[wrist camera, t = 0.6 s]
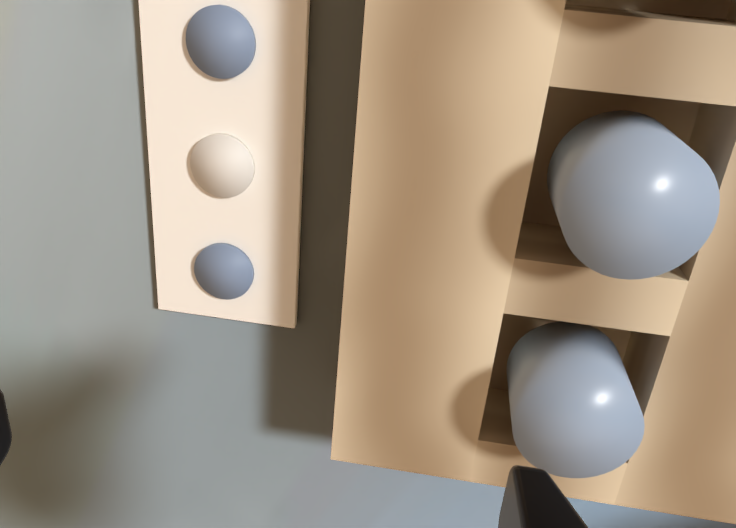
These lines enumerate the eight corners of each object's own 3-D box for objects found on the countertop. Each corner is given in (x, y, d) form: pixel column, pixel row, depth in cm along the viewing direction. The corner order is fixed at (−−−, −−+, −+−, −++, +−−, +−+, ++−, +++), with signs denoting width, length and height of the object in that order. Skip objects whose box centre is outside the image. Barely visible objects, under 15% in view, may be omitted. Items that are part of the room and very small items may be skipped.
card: (310, -22, 16) (306, -22, 16) (296, 323, 20) (293, 331, 20) (141, -39, 17) (132, -39, 16) (162, 304, 21) (155, 312, 20)
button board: (1021, -263, 13) (1172, -323, 10) (724, 453, 20) (764, 528, 18) (406, -300, 14) (392, -363, 11) (347, 396, 21) (330, 459, 19)
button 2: (634, 330, 17) (660, 386, 15) (605, 421, 18) (626, 487, 16) (517, 313, 17) (524, 367, 15) (497, 405, 18) (502, 467, 16)
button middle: (698, 118, 14) (741, 147, 12) (660, 241, 16) (693, 288, 14) (561, 103, 15) (578, 129, 12) (535, 225, 16) (547, 269, 14)
